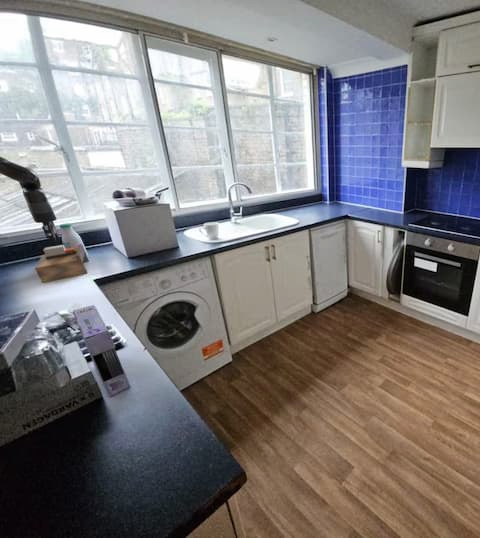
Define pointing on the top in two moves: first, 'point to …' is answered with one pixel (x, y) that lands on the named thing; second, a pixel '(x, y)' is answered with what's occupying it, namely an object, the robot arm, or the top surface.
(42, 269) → the tan box with lid
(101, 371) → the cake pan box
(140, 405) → the top surface
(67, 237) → the milk bottle
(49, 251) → the white bottle red cap
